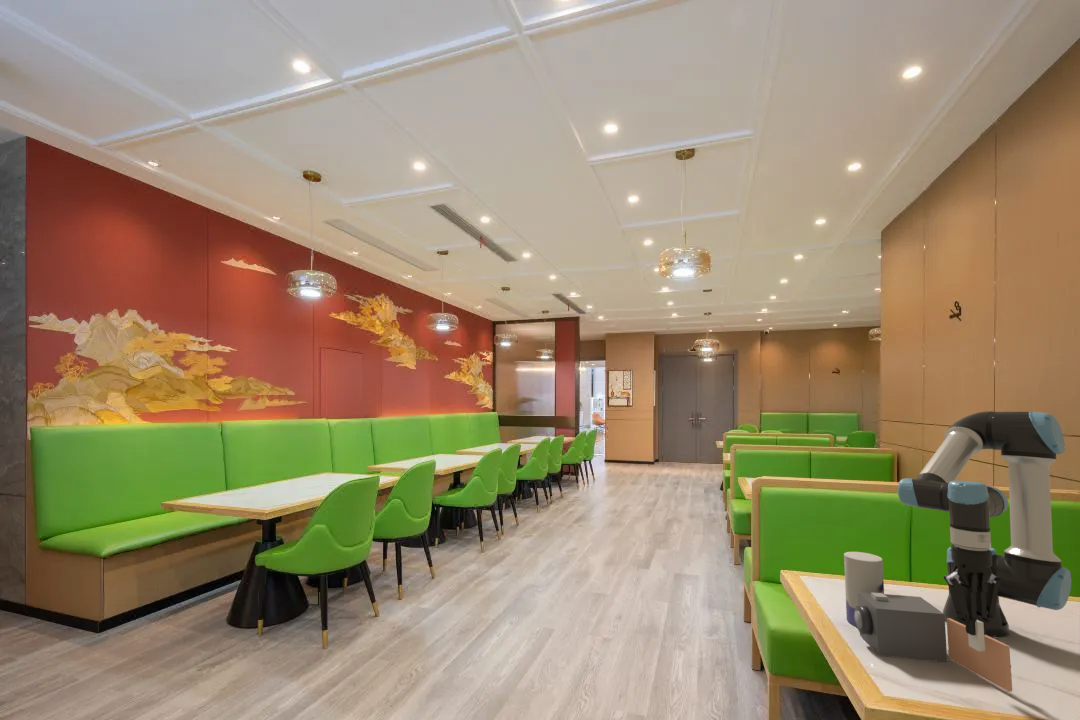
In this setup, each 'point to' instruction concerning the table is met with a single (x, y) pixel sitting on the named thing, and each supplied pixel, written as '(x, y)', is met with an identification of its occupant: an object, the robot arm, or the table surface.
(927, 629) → the dark gray knobbed box
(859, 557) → the container
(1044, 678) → the table surface
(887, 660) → the table surface
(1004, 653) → the side door
